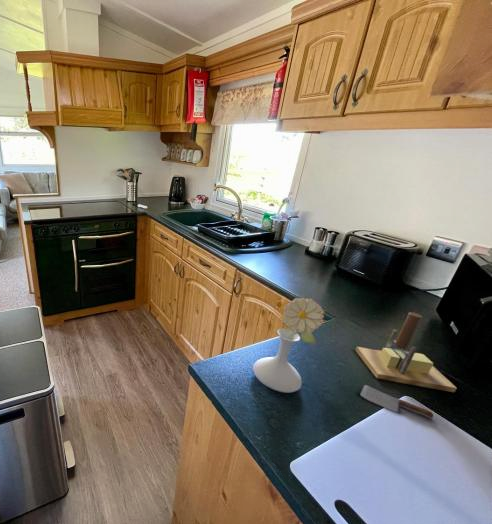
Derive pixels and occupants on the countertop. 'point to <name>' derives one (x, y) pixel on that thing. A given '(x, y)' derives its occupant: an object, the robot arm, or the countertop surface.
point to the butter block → (420, 364)
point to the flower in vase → (290, 345)
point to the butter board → (403, 369)
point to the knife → (405, 337)
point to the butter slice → (389, 357)
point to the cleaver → (392, 402)
